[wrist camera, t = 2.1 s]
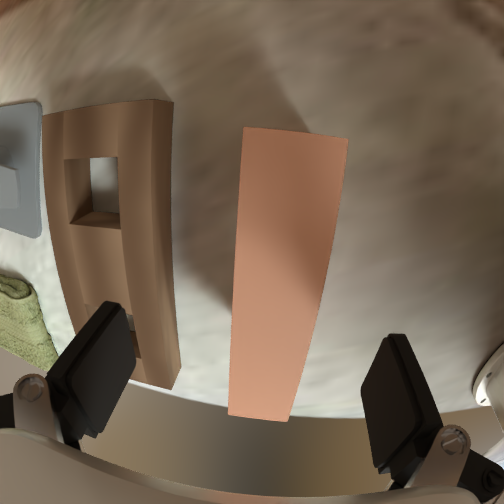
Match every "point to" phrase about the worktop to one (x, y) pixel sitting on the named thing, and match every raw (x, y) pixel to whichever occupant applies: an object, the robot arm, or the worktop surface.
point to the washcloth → (24, 324)
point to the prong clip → (280, 263)
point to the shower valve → (20, 168)
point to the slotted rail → (116, 224)
